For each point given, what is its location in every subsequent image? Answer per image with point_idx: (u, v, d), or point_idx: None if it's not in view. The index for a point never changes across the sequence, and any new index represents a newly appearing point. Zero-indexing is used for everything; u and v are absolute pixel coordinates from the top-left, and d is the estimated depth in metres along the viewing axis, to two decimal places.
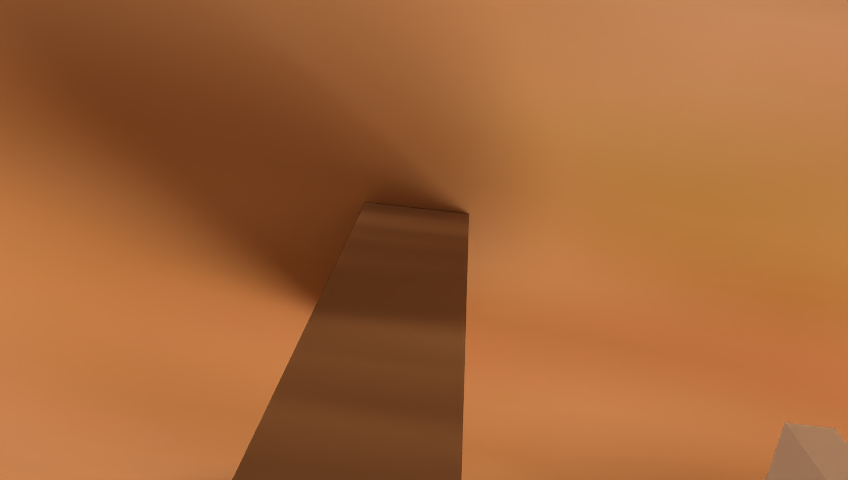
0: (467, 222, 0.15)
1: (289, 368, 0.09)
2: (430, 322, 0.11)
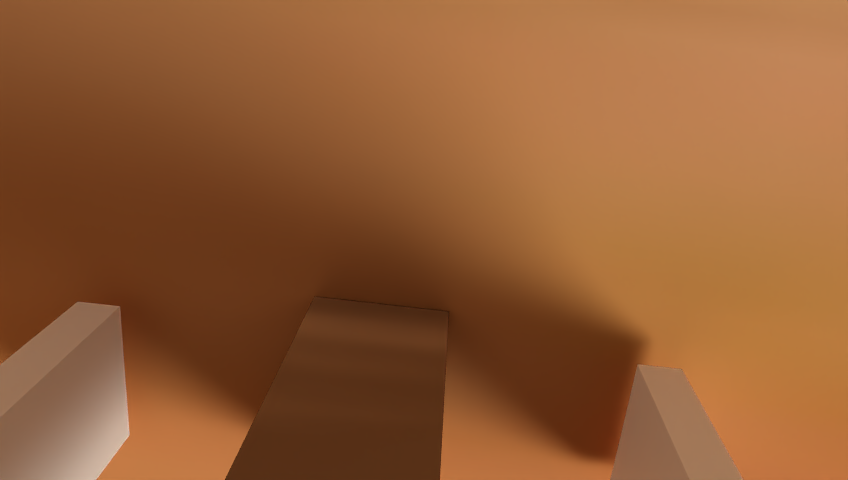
0: (446, 327, 0.11)
1: None
2: None
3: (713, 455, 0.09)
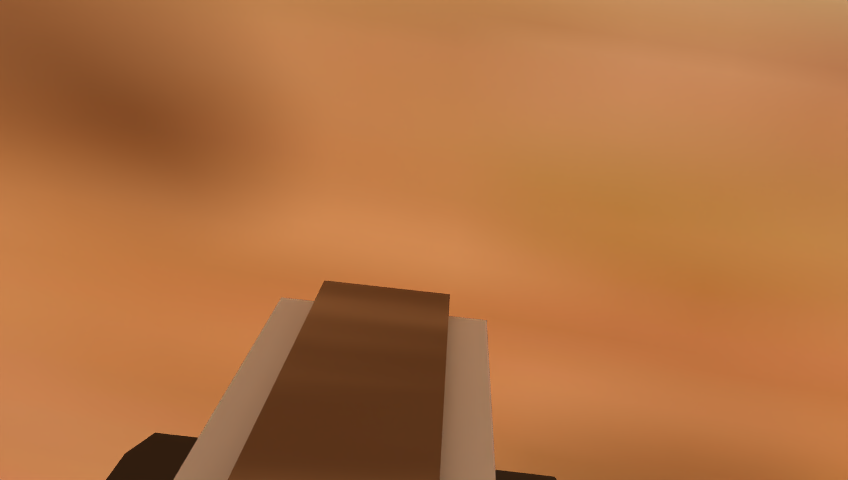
0: (447, 307, 0.12)
1: None
2: None
3: (474, 388, 0.10)
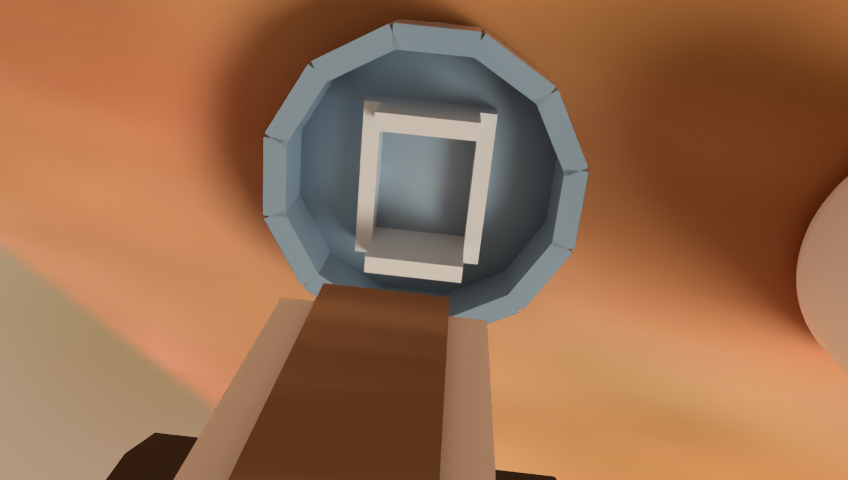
0: (447, 310, 0.12)
1: None
2: None
3: (474, 388, 0.10)
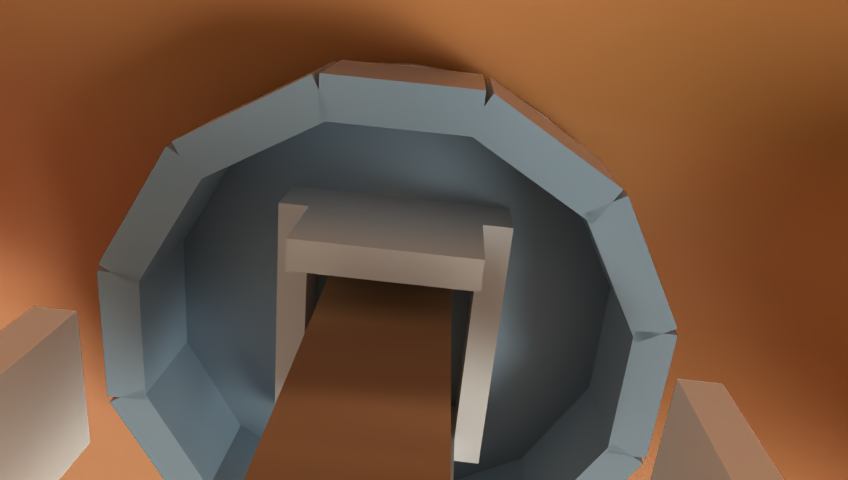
0: None
1: (255, 463, 0.08)
2: (412, 394, 0.10)
3: (765, 476, 0.09)
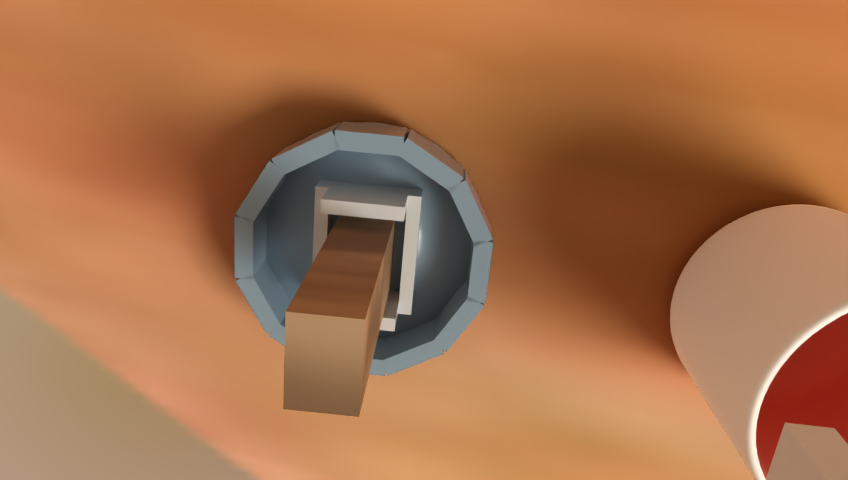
0: None
1: (313, 264, 0.24)
2: (370, 252, 0.26)
3: None
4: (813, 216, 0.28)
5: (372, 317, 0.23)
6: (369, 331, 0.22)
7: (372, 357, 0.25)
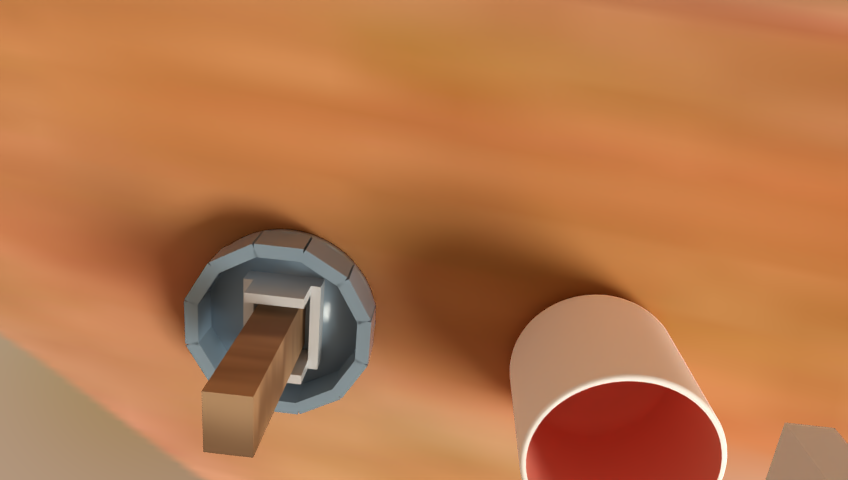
0: None
1: (230, 348, 0.35)
2: (274, 336, 0.37)
3: None
4: (598, 308, 0.38)
5: (267, 388, 0.34)
6: (263, 399, 0.33)
7: (273, 411, 0.36)
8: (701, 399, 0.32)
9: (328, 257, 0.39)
